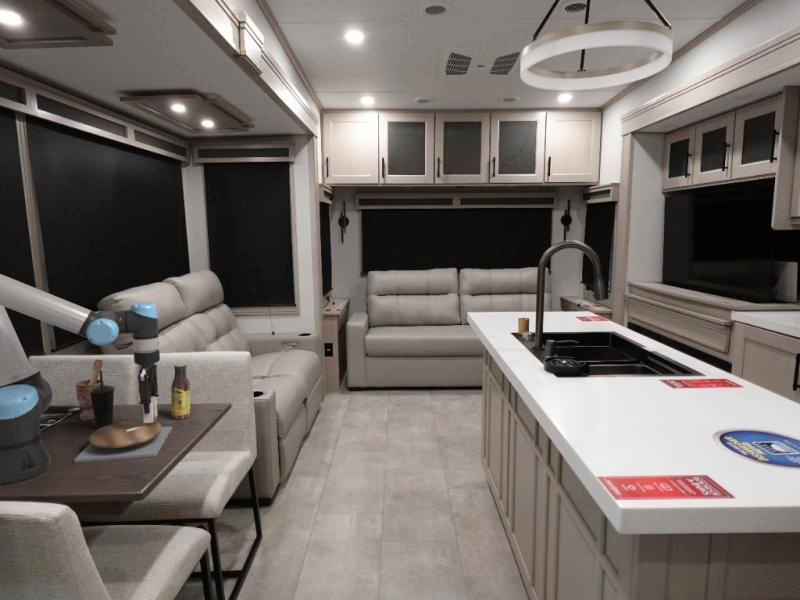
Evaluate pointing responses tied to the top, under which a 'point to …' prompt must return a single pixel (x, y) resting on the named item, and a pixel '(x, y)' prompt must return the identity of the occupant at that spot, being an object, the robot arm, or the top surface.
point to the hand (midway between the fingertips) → (150, 419)
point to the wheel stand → (125, 449)
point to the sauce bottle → (180, 393)
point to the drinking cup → (102, 403)
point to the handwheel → (126, 432)
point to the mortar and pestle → (84, 388)
